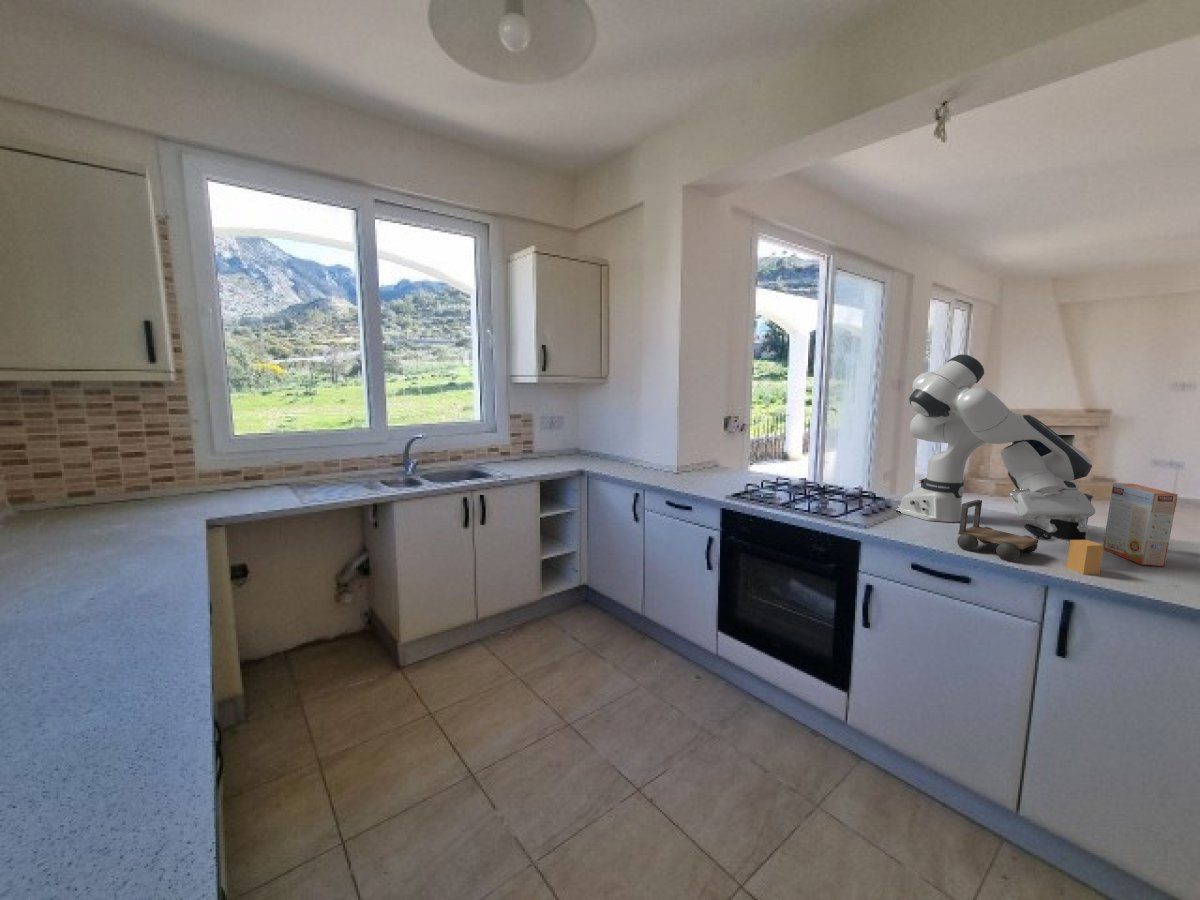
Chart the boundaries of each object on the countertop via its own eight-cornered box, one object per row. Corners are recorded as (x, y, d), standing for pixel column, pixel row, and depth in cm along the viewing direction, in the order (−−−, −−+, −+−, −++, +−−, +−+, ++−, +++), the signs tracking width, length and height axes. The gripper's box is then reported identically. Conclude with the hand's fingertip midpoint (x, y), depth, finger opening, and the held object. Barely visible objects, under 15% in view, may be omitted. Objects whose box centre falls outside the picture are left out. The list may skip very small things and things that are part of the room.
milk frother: (1089, 538, 161) (1096, 494, 159) (1077, 548, 152) (1084, 501, 150) (1033, 527, 173) (1039, 486, 171) (1019, 536, 164) (1025, 492, 161)
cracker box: (1166, 567, 137) (1179, 493, 134) (1140, 565, 138) (1153, 492, 135) (1124, 550, 150) (1135, 483, 147) (1101, 548, 152) (1111, 482, 148)
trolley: (954, 547, 152) (959, 504, 150) (975, 539, 160) (980, 498, 158) (1018, 564, 139) (1024, 517, 137) (1038, 555, 146) (1044, 510, 144)
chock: (1066, 567, 136) (1070, 540, 135) (1081, 567, 137) (1086, 539, 135) (1083, 574, 132) (1087, 545, 131) (1099, 574, 132) (1103, 545, 131)
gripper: (1015, 483, 143) (1042, 526, 134) (1082, 483, 144) (1113, 525, 135) (1000, 494, 148) (1025, 536, 139) (1065, 494, 149) (1094, 536, 140)
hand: (1069, 531), depth 137 cm, fingers open, 8 cm apart
